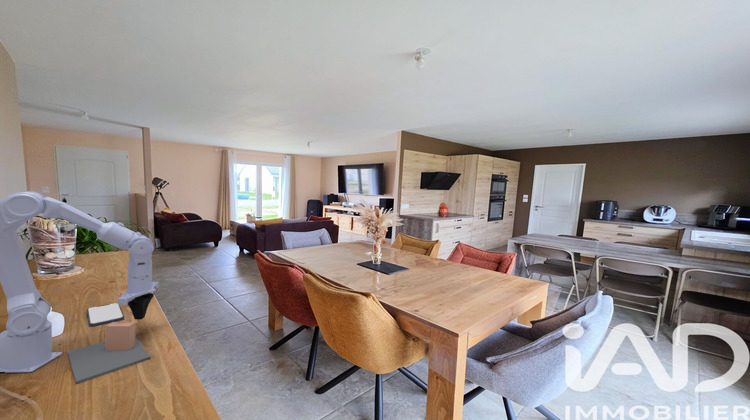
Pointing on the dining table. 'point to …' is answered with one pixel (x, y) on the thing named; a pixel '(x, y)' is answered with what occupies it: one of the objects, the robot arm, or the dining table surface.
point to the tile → (120, 336)
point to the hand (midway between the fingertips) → (139, 318)
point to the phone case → (104, 314)
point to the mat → (103, 360)
